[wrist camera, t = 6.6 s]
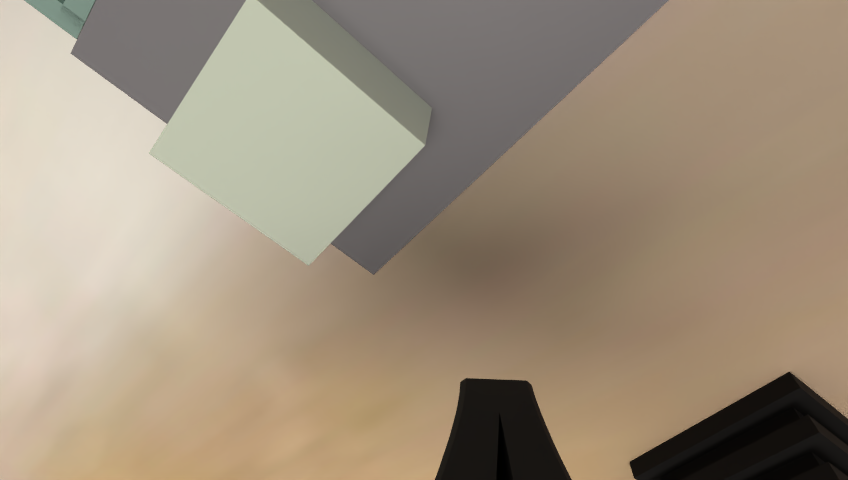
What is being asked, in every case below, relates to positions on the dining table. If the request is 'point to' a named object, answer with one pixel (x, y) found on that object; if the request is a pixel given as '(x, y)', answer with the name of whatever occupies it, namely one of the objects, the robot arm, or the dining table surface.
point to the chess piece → (757, 440)
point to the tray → (65, 13)
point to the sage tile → (293, 125)
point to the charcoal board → (410, 61)
